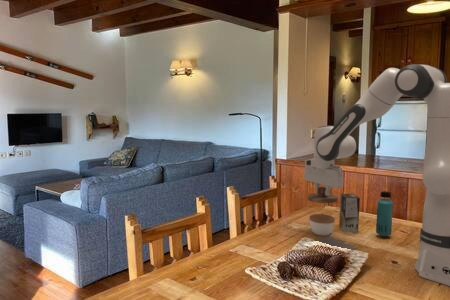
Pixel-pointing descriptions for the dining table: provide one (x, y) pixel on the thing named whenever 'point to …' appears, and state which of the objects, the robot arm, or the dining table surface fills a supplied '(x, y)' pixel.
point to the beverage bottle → (384, 215)
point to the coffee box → (349, 213)
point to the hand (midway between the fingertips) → (322, 194)
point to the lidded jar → (321, 224)
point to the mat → (335, 243)
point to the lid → (322, 196)
